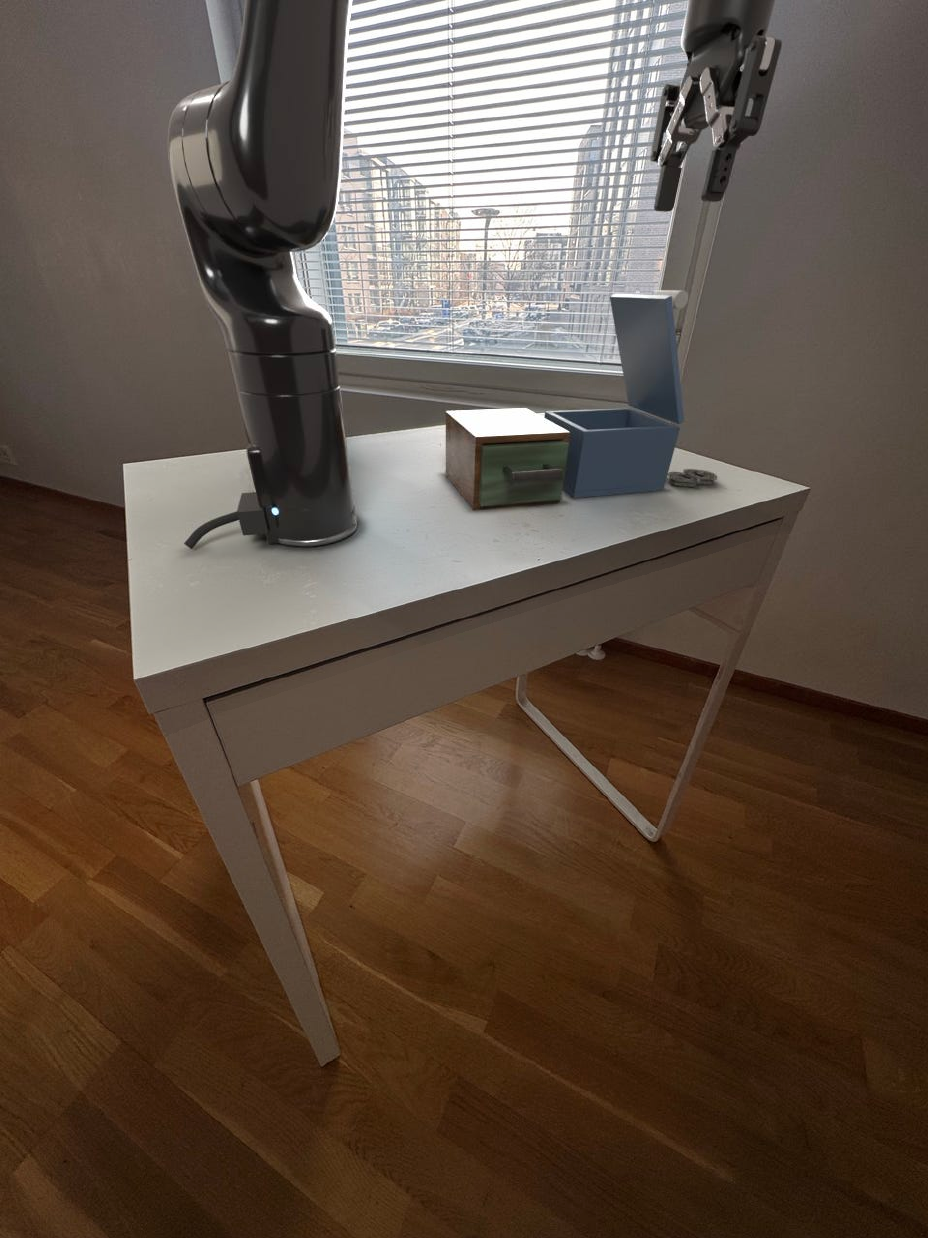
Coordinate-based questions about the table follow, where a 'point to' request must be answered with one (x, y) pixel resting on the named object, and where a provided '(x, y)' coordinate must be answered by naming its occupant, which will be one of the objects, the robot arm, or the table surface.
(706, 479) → the corroded twin loop
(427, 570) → the table surface
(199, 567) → the table surface
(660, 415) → the lid
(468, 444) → the cabinet
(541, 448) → the drawer
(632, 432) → the chest
